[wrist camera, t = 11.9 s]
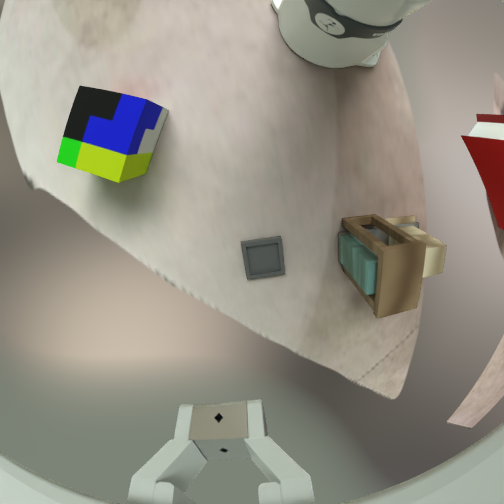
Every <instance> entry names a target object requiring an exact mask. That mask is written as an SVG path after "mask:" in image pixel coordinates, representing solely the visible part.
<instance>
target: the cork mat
mask: <svg viewBox="0 0 504 504" xmlns="http://www.w3.org/2000/svg"><path fill="white" fill-rule="evenodd" d="M415 217H416V216H415V215H414V216H406V217H398V218H390V219H384V220H386V221H388V222H389V223H391V224H393V225H400V224H407V223H415Z"/></svg>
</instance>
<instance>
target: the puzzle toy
mask: <svg viewBox="0 0 504 504" xmlns="http://www.w3.org/2000/svg"><path fill="white" fill-rule="evenodd" d="M168 111H169V110H167V109H165V108H163V107H161V106H159V105H157V104H155V103H153V102H151V101H149V100H147V99H143V98H139V97H135V96H130V95H126V94H121V93H117V92H112V91H107V90H102V89H96V88H91V87H85V86H79V89H78V92H77V94H76V97H75V100H74V103H73V106H72V109H71V112H70V115H69V118H68V121H67V124H66V128H65V131H64V135H63V139H62V142H61V146H60V150H59V155H58V159H57V162H58V163H61V164H64V165H67V166H70V167H73V168H76V169H79V170H82V171H85V172H88V173H91V174H94V175H97V176H100V177H103V178H106V179H109V180H112V181H115V182H118V183H120V182H123V181H126V180H129V179H131V178H134V177H137V176H140V175H144V174H146V172H147V169H148V166H149V163H150V160H151V157H152V154H153V151H154V148H155V145H156V143H157V140H158V137H159V134H160V132H161V129H162V126H163V124H164V121H165V119H166V116H167V114H168Z"/></svg>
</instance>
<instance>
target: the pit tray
mask: <svg viewBox="0 0 504 504" xmlns="http://www.w3.org/2000/svg"><path fill="white" fill-rule="evenodd" d="M241 246H242V252H243V258H244V264H245V270H246V276H247V279H254V278H261V277H268V276H275V275H281V274H285V269H284V259H283V249H282V240H281V236H277V237H270V238H263V239H256V240H249V241H242V242H241Z"/></svg>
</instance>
